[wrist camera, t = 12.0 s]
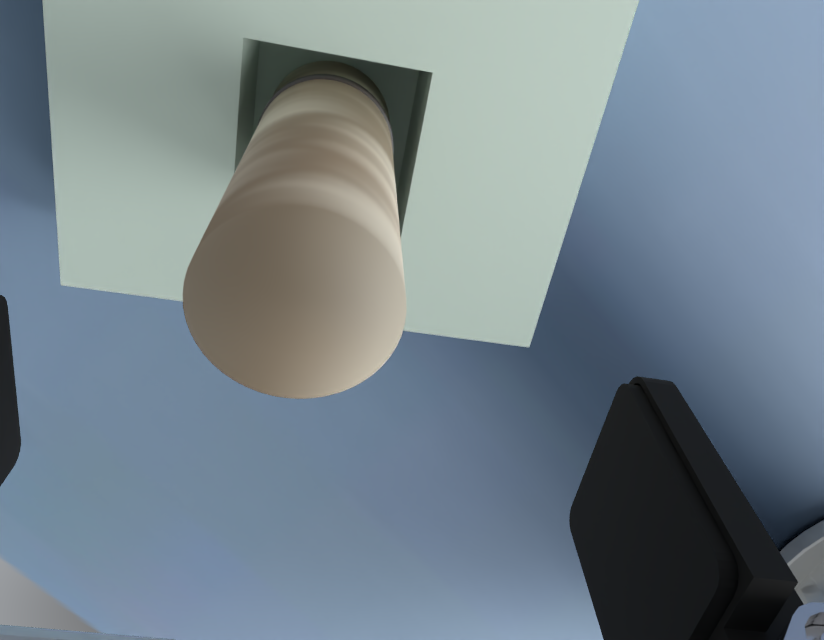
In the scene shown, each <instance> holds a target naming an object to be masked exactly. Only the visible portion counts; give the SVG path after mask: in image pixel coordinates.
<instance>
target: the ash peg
mask: <svg viewBox="0 0 824 640" xmlns="http://www.w3.org/2000/svg"><path fill="white" fill-rule="evenodd" d="M393 152H394V148H393V135H392V129H391V125H390V119H389V112H388V108H387V105H386V102H385V99H384V97H383V95H382V93H381V92H380V90H379V88H378V87H377V86H376V85H375V83H374V82H373V81H372V80H371V79H370V78H369V77H368V76H367V75H365V74H364V73H363V72H361V71H360V70H358V69H356V68H354V67H352V66H350V65H347V64H345V63H341V62H336V61H317V62H312V63H308V64H305V65H303V66H301V67H299V68H297V69H295V70H294V71H292V72H291V73H290V74H288V75H287V76H286V77H285V78H284V79H283V80H282V82H281V83H280V84H279V86H278V87H277V89H276V90H275V92H274V94H273V96H272V98H271V99H270V100H269V102H268V103H267V105H266V106H265V108H264V110H263V112H262V115H261V117H260V119H259V122H258V125H257V128H256V130H255V132H254V134H253V136H252V138H251V140H250V142H249V144H248V146H247V149H246V151H245V153H244V155H243V157H242V159H241V161H240V163H239V165H238V167H237V169H236V171H235V173H234V175H233V177H232V179H231V181H230V183H229V185H228V187H227V189H226V191H225V193H224V195H223V197H222V199H221V201H220V203H219V205H218V207H217V209H216V211H215V213H214V215H213V217H212V219H211V221H210V223H209V225H208V227H207V229H206V231H205V233H204V235H203V237H202V239H201V241H200V243H199V245H198V247H197V249H196V251H195V253H194V255H193V257H192V259H191V262H190V264H189V266H188V268H187V272H186V275H185V279H184V285H183V309H184V314H185V319H186V322H187V325H188V328H189V330H190V333H191V335H192V337H193V339H194V340H195V342H196V344H197V345H198V347H199V348H200V350H201V351H202V353H203V354H204V355H205V356H206V357H207V358H208V360H209V361H210V362H211V363H212V364H213V365H214V366H215V367H217V368H218V369H219V370H220V371H221V372H222V373H224V374H225V375H227V376H228V377H230V378H231V379H233V380H234V381H236V382H238V383H240V384H242V385H244V386H245V387H248V388H250V389H253V390H255V391H258V392H261V393H265V394H268V395H272V396H277V397H283V398H295V399H305V398H317V397H324V396H328V395H332V394H336V393H339V392H342V391H345V390H347V389H350V388H352V387H354V386H356V385H358V384H360V383H361V382H363V381H365V380H366V379H367V378H369V377H370V376H372V375H373V374H374V373H375V372H376V371H377V370H379V369H380V368H381V367H382V366H383V365H384V363H385V362H386V361H387V360H388V359H389V358H390V356H391V355H392V353H393V351H394V350H395V348H396V347H397V345H398V342H399V340H400V338H401V336H402V332H403V329H404V325H405V320H406V312H407V309H406V290H405V280H404V269H403V258H402V247H401V237H400V226H399V215H398V205H397V194H396V183H395V173H394V162H393Z"/></svg>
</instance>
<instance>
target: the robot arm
mask: <svg viewBox="0 0 824 640" xmlns="http://www.w3.org/2000/svg"><path fill="white" fill-rule="evenodd" d="M20 447H21V437H20V426H19V416H18V406H17V396H16V386H15V376H14V366H13V356H12V346H11V335H10V325H9V315H8V306H7V301H6V299H5V297H3V296H2V295H0V486H1V485H2V483H3V482H4V480H5V479H6V477H7V476H8V474H9V473H10V471H11V470H12V468H13V467H14V465H15V463H16V461H17V459H18V456H19V452H20ZM570 529H571V533H572V536H573V540H574V543H575V546H576V550H577V553H578V556H579V559H580V563H581V566H582V569H583V573H584V576H585V579H586V583H587V586H588V589H589V592H590V596H591V599H592V602H593V606H594V609H595V612H596V616H597V619H598V622H599V625H600V629H601V632H602V635H603V639H604V640H824V520H822V521H821V522H819V523H817V524H816V525H814V526H812V527H810V528H809V529H807V530H805V531H804V532H802V533H801V534H800V535H799V536H797V537H796V538H795V539H793V540H792V541H791V542H789V543H788V544H787V545H786V546H785V547H784V548H783V549H782V550H781V551H780V552H779V550H778V549H777V547H776V546H775V544H774V542H773V541H772V539H771V538H770V536H769V534H768V533H767V531H766V530H765V528H764V526H763V525H762V523H761V522H760V520H759V518H758V517H757V515H756V514H755V512H754V510H753V509H752V507H751V505H750V504H749V502H748V501H747V499H746V497H745V496H744V494H743V493H742V491H741V489H740V488H739V486H738V485H737V483H736V481H735V480H734V478H733V477H732V475H731V473H730V472H729V470H728V469H727V467H726V465H725V464H724V462H723V461H722V459H721V457H720V456H719V454H718V453H717V451H716V449H715V448H714V446H713V445H712V443H711V441H710V440H709V438H708V437H707V435H706V433H705V432H704V430H703V429H702V427H701V425H700V424H699V422H698V420H697V419H696V417H695V416H694V414H693V412H692V411H691V409H690V408H689V406H688V404H687V403H686V401H685V400H684V398H683V396H682V395H681V393H680V392H679V390H678V388H677V387H676V385H675V384H674V383H673V382H671V381H666V380H659V379H652V378H645V377H638V376H637V377H635V378H633V379H632V380H631V381H630V383H629V384H622V385H621V386H620V387H619V388H618V390H617V392H616V395H615V397H614V400H613V402H612V405H611V407H610V410H609V412H608V415H607V417H606V420H605V422H604V425H603V428H602V430H601V433H600V435H599V438H598V440H597V443H596V445H595V448H594V450H593V453H592V456H591V458H590V461H589V463H588V466H587V468H586V471H585V473H584V476H583V478H582V481H581V484H580V486H579V489H578V491H577V494H576V496H575V499H574V501H573V504H572V507H571V511H570ZM0 640H174V639H162V638H151V637H139V636H127V635H115V634H103V633H91V632H80V631H68V630H55V629H44V628H33V627H21V626H8V625H0Z"/></svg>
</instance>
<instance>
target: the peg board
mask: <svg viewBox="0 0 824 640" xmlns="http://www.w3.org/2000/svg"><path fill="white" fill-rule="evenodd" d="M42 1H43V17H44V32H45V48H46V63H47V79H48V94H49V110H50V125H51V141H52V156H53V172H54V187H55V203H56V219H57V234H58V250H59V265H60V281H61V285H63V286H70V287H78V288H85V289H93V290H100V291H108V292H116V293H123V294H131V295H138V296H146V297H153V298H161V299H168V300H176V301H183V285H184V279H185V275H186V272H187V268H188V266H189V264H190V262H191V259H192V257H193V255H194V253H195V251H196V249H197V247H198V245H199V243H200V241H201V239H202V237H203V235H204V233H205V231H206V229H207V227H208V225H209V223H210V221H211V219H212V217H213V215H214V213H215V211H216V209H217V207H218V205H219V203H220V201H221V199H222V197H223V195H224V193H225V191H226V189H227V187H228V185H229V183H230V181H231V179H232V177H233V175H234V173H235V171H236V169H237V167H238V165H239V163H240V161H241V159H242V157H243V155H244V153H245V151H246V149H247V146H248V144H249V142H250V140H251V138H252V136H253V134H254V132H255V130H256V128H257V125H258V122H259V119H260V117H261V115H262V112H263V110H264V108H265V106H266V105H267V103H268V102H269V100H270V99H271V98H272V96H273V94H274V92H275V90H276V89H277V87H278V86H279V84H280V83H281V82H282V80H283V79H284V78H285V77H286V76H287V75H288V74H290V73H291V72H292V71H294V70H295V69H297V68H299V67H301V66H303V65H305V64H308V63H312V62H317V61H336V62H341V63H345V64H347V65H350V66H352V67H354V68H356V69H358V70H360V71H361V72H363V73H364V74H365V75H367V76H368V77H369V78H370V79H371V80H372V81H373V82H374V83H375V85H376V86H377V87H378V88H379V90H380V92H381V93H382V95H383V97H384V99H385V102H386V105H387V108H388V112H389V119H390V125H391V129H392V135H393V148H394V152H393V162H394V173H395V183H396V194H397V205H398V215H399V226H400V237H401V247H402V258H403V269H404V280H405V290H406V309H407V312H406V320H405V325H404V329H403V331H409V332H417V333H424V334H432V335H439V336H447V337H454V338H462V339H469V340H477V341H484V342H492V343H499V344H507V345H514V346H522V347H529V346H530V343H531V340H532V337H533V334H534V331H535V328H536V324H537V321H538V318H539V315H540V312H541V309H542V305H543V302H544V299H545V296H546V293H547V290H548V287H549V283H550V280H551V277H552V274H553V271H554V268H555V264H556V261H557V258H558V255H559V252H560V249H561V245H562V242H563V239H564V236H565V233H566V230H567V227H568V223H569V220H570V217H571V214H572V211H573V208H574V204H575V201H576V198H577V195H578V192H579V189H580V186H581V182H582V179H583V176H584V173H585V170H586V167H587V163H588V160H589V157H590V154H591V151H592V148H593V145H594V141H595V138H596V135H597V132H598V129H599V126H600V122H601V119H602V116H603V113H604V110H605V107H606V103H607V100H608V97H609V94H610V91H611V88H612V85H613V81H614V78H615V75H616V72H617V69H618V66H619V62H620V59H621V56H622V53H623V50H624V47H625V44H626V40H627V37H628V34H629V31H630V28H631V25H632V21H633V18H634V15H635V12H636V9H637V6H638V3H639V0H42Z"/></svg>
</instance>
